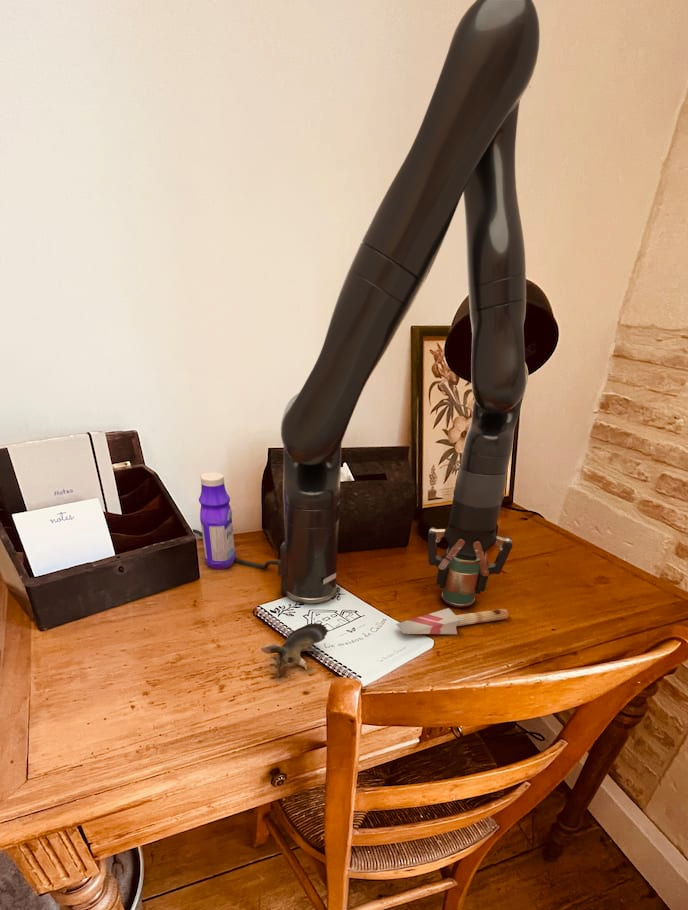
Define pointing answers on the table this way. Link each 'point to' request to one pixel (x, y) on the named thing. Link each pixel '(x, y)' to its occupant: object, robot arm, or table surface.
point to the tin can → (461, 581)
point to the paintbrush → (448, 621)
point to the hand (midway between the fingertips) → (459, 588)
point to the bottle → (216, 521)
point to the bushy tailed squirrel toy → (296, 646)
